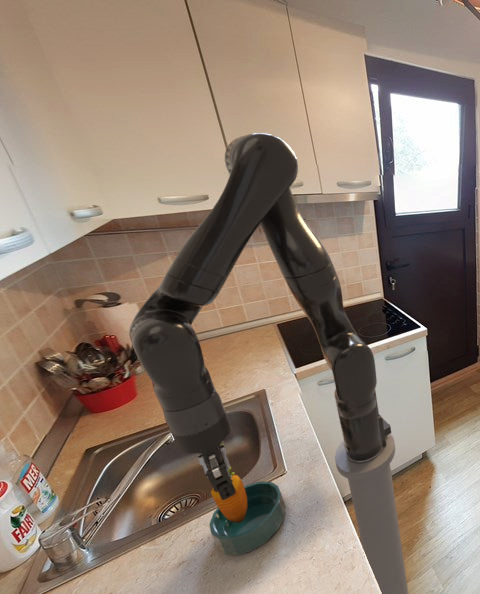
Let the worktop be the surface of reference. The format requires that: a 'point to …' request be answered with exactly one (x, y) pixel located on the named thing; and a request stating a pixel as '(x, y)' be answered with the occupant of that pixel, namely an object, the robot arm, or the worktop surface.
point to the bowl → (250, 520)
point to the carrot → (233, 501)
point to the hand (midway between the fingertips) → (226, 486)
